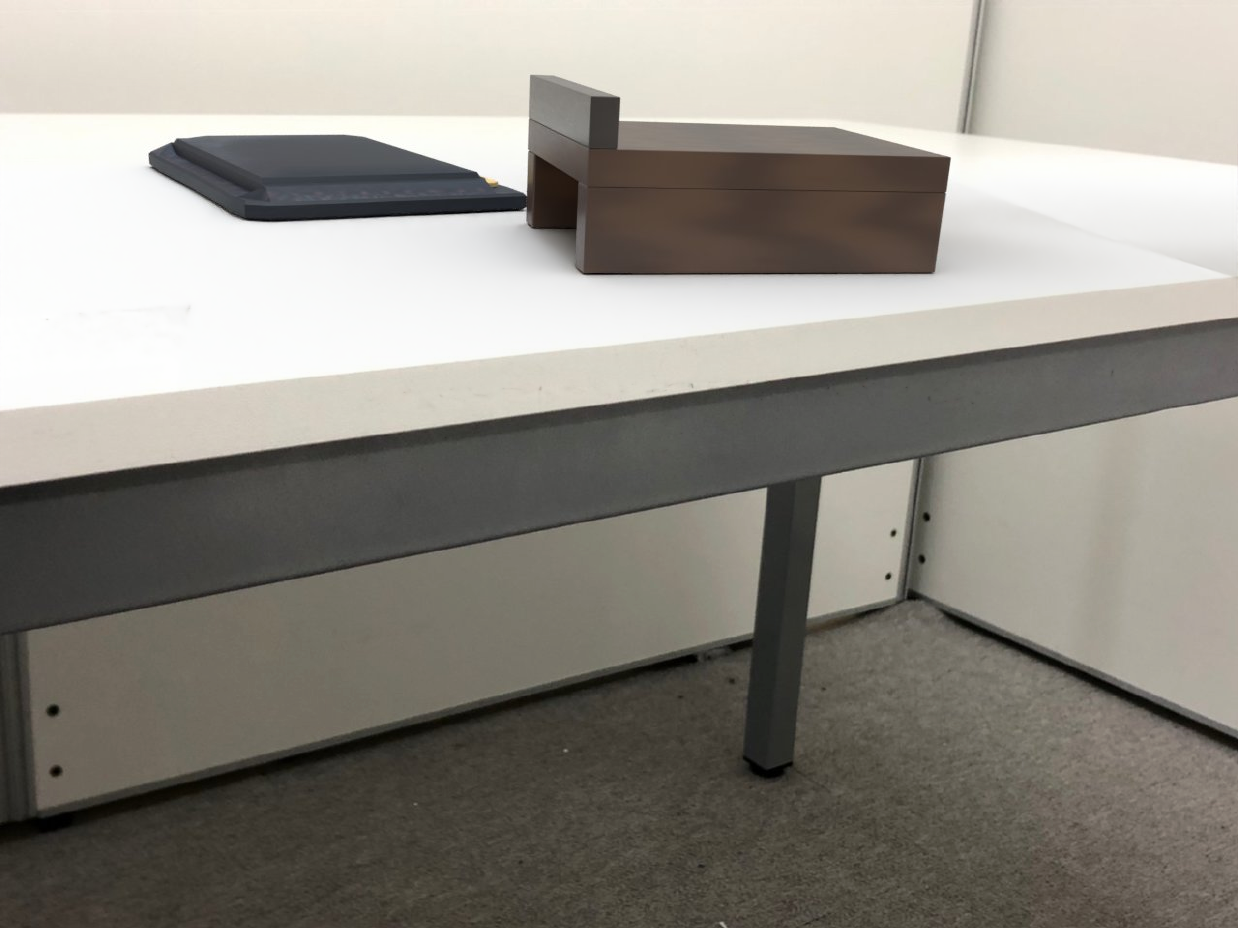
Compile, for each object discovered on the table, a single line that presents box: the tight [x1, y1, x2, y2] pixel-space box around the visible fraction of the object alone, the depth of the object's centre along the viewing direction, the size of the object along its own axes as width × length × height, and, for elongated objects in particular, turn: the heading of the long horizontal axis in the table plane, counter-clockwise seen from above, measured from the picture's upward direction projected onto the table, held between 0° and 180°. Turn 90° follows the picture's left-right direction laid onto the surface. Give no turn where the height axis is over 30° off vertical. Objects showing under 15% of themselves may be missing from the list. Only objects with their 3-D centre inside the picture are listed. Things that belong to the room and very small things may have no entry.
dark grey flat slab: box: [147, 134, 527, 221], centre depth 70 cm, size 20×2×15 cm
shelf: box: [525, 74, 952, 274], centre depth 58 cm, size 16×12×7 cm
